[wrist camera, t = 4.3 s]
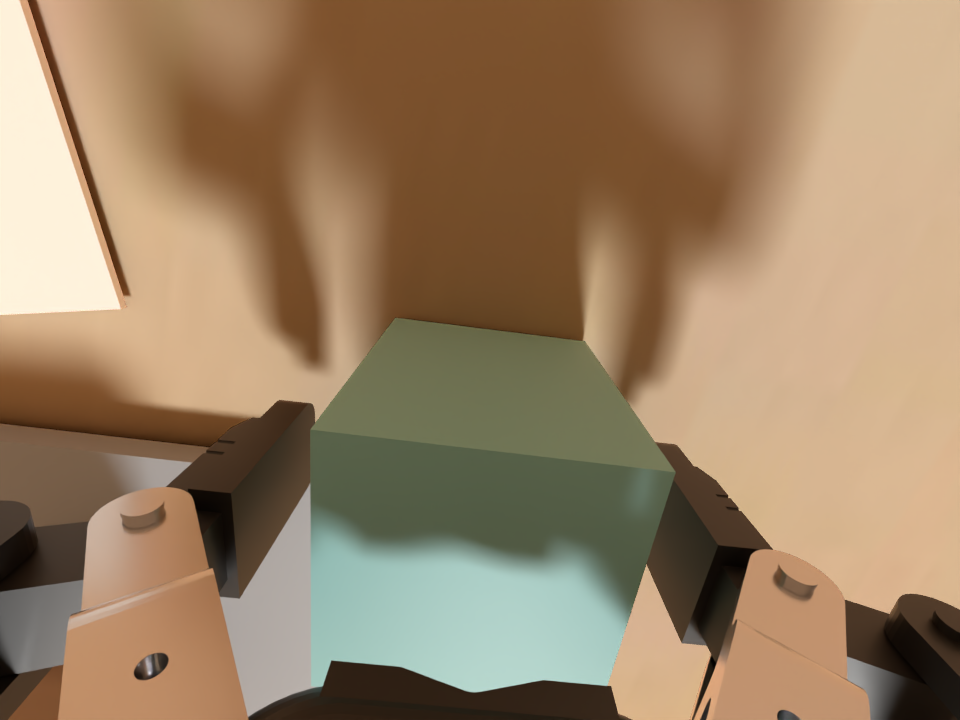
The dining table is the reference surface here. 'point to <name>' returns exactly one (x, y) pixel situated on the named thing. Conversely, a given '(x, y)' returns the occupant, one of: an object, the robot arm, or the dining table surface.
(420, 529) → the teal brick
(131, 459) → the plate
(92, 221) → the page
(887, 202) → the dining table surface
